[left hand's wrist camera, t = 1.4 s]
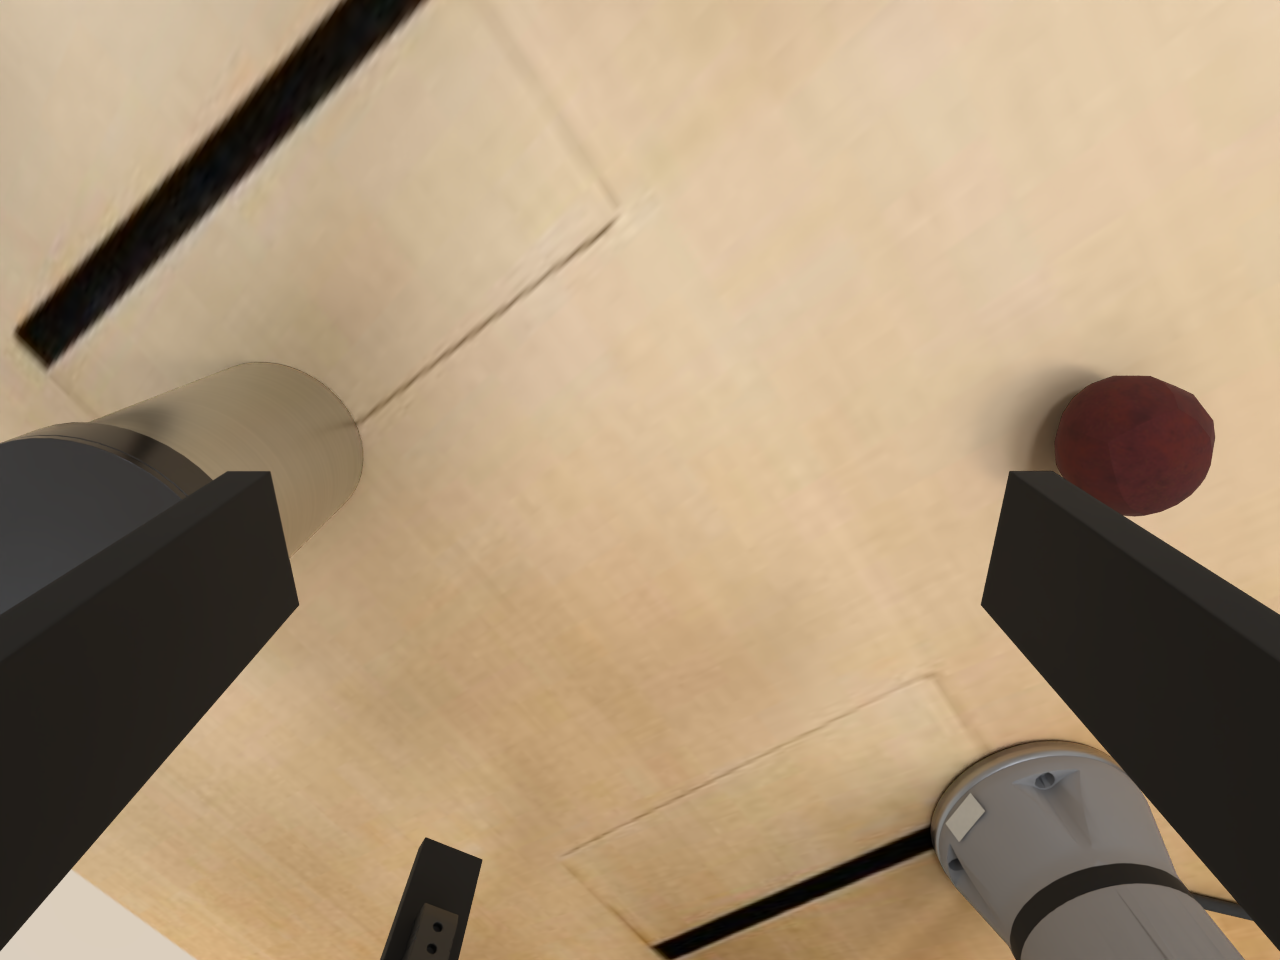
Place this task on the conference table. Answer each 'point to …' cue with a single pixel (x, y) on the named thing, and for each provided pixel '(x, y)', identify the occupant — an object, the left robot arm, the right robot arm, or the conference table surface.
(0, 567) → the lid
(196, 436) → the jar
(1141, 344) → the conference table surface
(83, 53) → the conference table surface
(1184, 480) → the plum
